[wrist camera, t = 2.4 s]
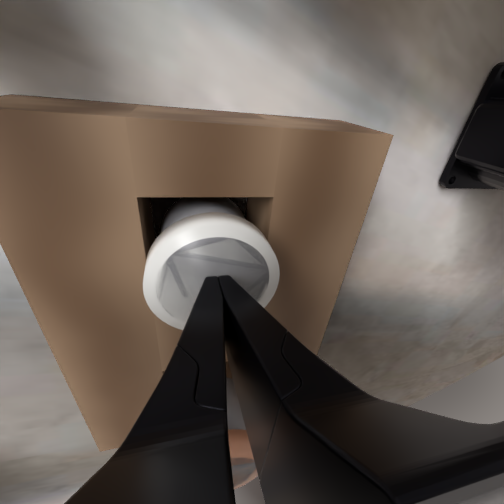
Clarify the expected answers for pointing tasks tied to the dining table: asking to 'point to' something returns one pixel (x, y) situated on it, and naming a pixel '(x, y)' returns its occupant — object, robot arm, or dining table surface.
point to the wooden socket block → (142, 228)
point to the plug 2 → (238, 440)
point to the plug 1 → (205, 256)
